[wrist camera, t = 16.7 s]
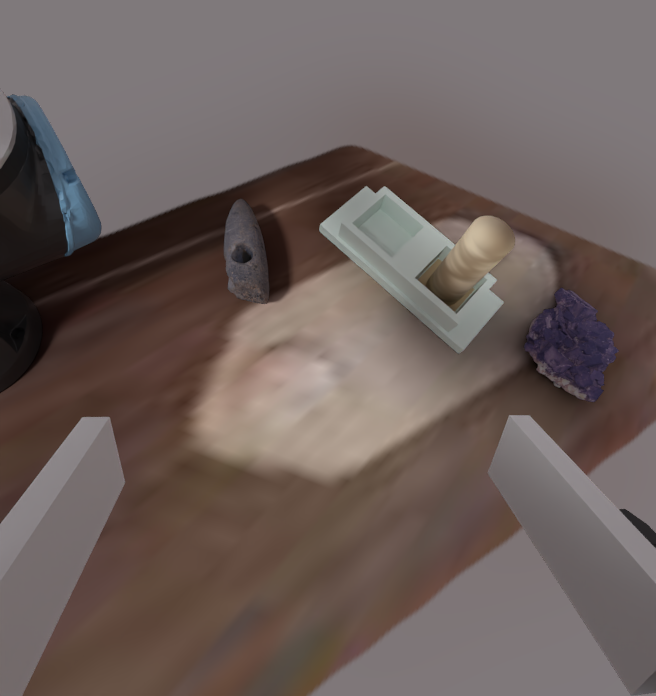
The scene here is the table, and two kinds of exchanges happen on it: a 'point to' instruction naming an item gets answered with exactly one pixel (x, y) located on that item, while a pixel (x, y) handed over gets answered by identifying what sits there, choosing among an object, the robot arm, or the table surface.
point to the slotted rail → (408, 262)
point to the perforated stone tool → (245, 255)
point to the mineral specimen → (571, 346)
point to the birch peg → (471, 258)
